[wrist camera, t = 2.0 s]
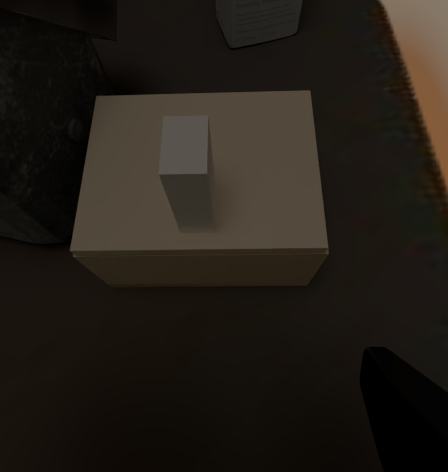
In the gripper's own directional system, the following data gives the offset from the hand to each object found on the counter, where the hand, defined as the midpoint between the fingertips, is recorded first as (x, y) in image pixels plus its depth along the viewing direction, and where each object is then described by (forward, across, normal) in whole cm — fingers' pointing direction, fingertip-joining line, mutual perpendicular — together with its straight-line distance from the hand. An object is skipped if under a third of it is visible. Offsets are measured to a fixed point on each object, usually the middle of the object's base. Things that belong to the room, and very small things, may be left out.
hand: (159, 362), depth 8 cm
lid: (+12, 0, -2) cm, 12 cm away
